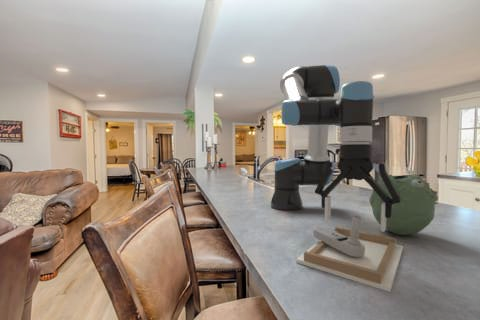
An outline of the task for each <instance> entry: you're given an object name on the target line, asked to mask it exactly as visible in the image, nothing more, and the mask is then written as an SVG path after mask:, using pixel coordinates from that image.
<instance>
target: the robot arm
mask: <svg viewBox="0 0 480 320" xmlns="http://www.w3.org/2000/svg"><path fill="white" fill-rule="evenodd" d="M340 78H341V77H340V73H339V70H338V68H337V66H335V65H327V64H324V65H308V66H307V65H306V66H303V65H302V66H296V67H294V68H291V69H290V70H288V71H287V72H285V73H284V75H283V76H282V78H281V79H280V83H279V88H280V91H281V93H282V94H283V95H284V100H283V101H282V103H281V112H280V113H281V115H280V116H281V118H280V119H281V123H282V124H283V125H285V126H293V127H294V126H295V127H296V126H308V136H307V137H308V139H307V140H308V141H307V154H305V156H304V157H303V161H302V160H300V157H299V158H298V157H295V158H285V159H279V160H276V162H275V163H274V189H273V190H274V191H273V195H272V197H271V200H270V207H271V208H272V209H275V210H280V211H298V210H301V209H303V201H302V197H301V194H300V186H316V188H315V190H314V194H317V195H320V196H321V208H322V209H324V221H325V222H329V221H331V220H332V219H331V218H332V217H331V214H332V213H331V211H332V209H331V208H332V196H331V195H329V194H330V193H331V192H332V191H334V189H335V188H336V187H337V186H339V184H341V182H342V181H343V180H344V179H346V180H356V181H362V180H364V181H365V182H366V183H367V184H368V185H369V186H370V187H371V188H372V191H373V190H374V191H375V192H376V193H377V194H378V195H379V197H380V198H381V199H382V200H383V201H384V202H385V203H382V205H381V225H380V232H383V233H384V232H385V231H386V230H387V229H386V218H390V217H391V215H392V204H395V203H399V202H400V201H401V198H400V196H399V194H398V192H397V190H396V188H395V186H394V185H393V183H392V181H391V179H390V177H389V175H390V174H389V173H388V172H387V164H386V163H385V162H382V163H375V164H374V163H373V161H372V156H373V155H372V153H373V152H372V151H373V146H372V144H370V143H372V142H373V114H374V113H373V112H374V110H373V109H374V98H375V96H374V85H373V84H372V82H370V81H365V80H359V81H350V82H347V83H345V84H343V85H340V84H341V79H340ZM340 86H341V87H340ZM339 90H340V95H339V97H340V98H335V94H338V93H339ZM334 98H335V99H334ZM329 126H336V127H337V126H339V142H340V143H342V144H340V145H339V157H338V158H339V161H338V162H334V161H332V160H331V158H330V156H329V155H328V140H329ZM336 168H338V170H339V171H340V172H339V174H338V175H337V176H336V177H335V178H334V173H335V172H334V171H335V170H336ZM373 169H374V170H375V171H376V173H379V175H380V178H381V179H383V181H384V183H385V185H386V187H387V189H388V191H389V193H390V195H391V196H392V198H390V197H389V196H388V195H387V194H386V192H385V191H384V190H383V189H382V188H381V187H380V186H379V184H378V181H376V180H375V178H374V177H373V176H372V174H370V173H371V172H372V170H373ZM333 178H334V180H333ZM325 187H326V188H325ZM324 188H325V189H324Z"/></svg>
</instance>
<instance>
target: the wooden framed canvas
mask: <svg viewBox="0 0 480 320" xmlns="http://www.w3.org/2000/svg"><path fill="white" fill-rule="evenodd" d="M333 231H336V232H338V233H340V234H342V235H344V236H347V237H349V238H350V232H351V228H346V227H340V226H335V227H334V230H333ZM396 239H397V238H395V237H391V236H387V235H382V234H376V233H371V232H365V231H361V230H360V231H359V239H358V240H359V241H360V243H362V244H363V245H364V246H365V253H364V255H363V256H362V257H353V256H350V255H348V254H346V253H344V252H342V251H340V250H338V249H336V248H334V247H332V246H330V245H328V244H326V243H325V242H323V241H321V240H319V239H318V241H317V242H315V243H314V244H313V245H311V247H310V248H308V249H307V250H305V251H304V252H303V253H302V254H301V255H300V256H298V257H297V258H296V260H295V261H296V263H298V264H301V265H304V266H307V267H310V268H313V269H317V270H319V271H323V272H326V273H329V274H333V275H335V276H338V277H342V278H345V279H347V280H351V281H354V282H357V283H360V284H363V285H367V286H370V287H373V288H376V289H379V290H382V291H385V292H389V293H391V291H392V289H393V285H394V282H395V278H396V274H397V271H398V268H399V265H400V261H401V257H402V254H403V250H404V246H403V245H398V244H396V241H397V240H396Z"/></svg>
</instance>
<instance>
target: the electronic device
mask: <svg viewBox="0 0 480 320" xmlns="http://www.w3.org/2000/svg"><path fill="white" fill-rule="evenodd" d="M351 220H352V221H351V227H350V229H351V232H350V238H349V237H347V236H344V235H342V234H340V233H338V232H336V231H334V230H333V229H331V228H329V227H325V226H315V227H313V234H312V235H313V237H314V238H315V239H317V240H318V241H319V240H321V241H323V242H325V243H326V244H328V245H330V246H332V247H334V248H336V249H338V250H340V251H342V252H344V253H346V254H348V255H350V256H353V257H362V256H363V255H364V253H365V246H364V245H363V244H362V243H360V241H359V240H358V239H359V231H361V229H360V225H361V216H358V215H353V216H352V219H351Z"/></svg>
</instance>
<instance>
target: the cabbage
mask: <svg viewBox="0 0 480 320" xmlns="http://www.w3.org/2000/svg"><path fill="white" fill-rule="evenodd" d="M388 175H389V177H390V179H391V181H392V183H393V185H394V186H395V188H396V190H397V192H398V194H399V196H400V198H401V201H400V202H399V203H395V204H392V215H391V217H390V218H386V230H387V231H389V232H390V233H393V234H395V235H397V236H398V235H399V236H410V235H416V234H418V233H419V232H421V231H423V230H424V229H425V228H427V227H428V226H429V225H430V224H431V222H432V221H433V219H434V218H435V211H436V205H437V204H438V202H437V201H439V197H438V191H436V190H433V189H432V188H431V187H430V186H431V185H430V183H429V182H427V181H425V180H424V179H423V178H422V176H420V175H419V174H416V173H413V174H412V175H408V174H405V175H404V174H403V175H392V174H388ZM377 183H378V184H379V186H380V187H381V188H382V189H383V190H384V191H385V192H386V194H387V195H388V196H389V197H390V198H392V196H391V195H390V193H389V191H388V189H387V187H386V185H385V183H384V181H383V179H382V178H381V179H379V181H377ZM369 203H370V206H371V208H372V210H371V211H372V214H373V217H374V218H375V220H376V221H377V223H378V224H379V225H380V226H381V205H382V203H385V202H384V201H383V200H382V199H381V198H380V197H379V195H378V194H377V193H376V192H375V191H374V190H373V189H372V193H371V195H370V197H369Z"/></svg>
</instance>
